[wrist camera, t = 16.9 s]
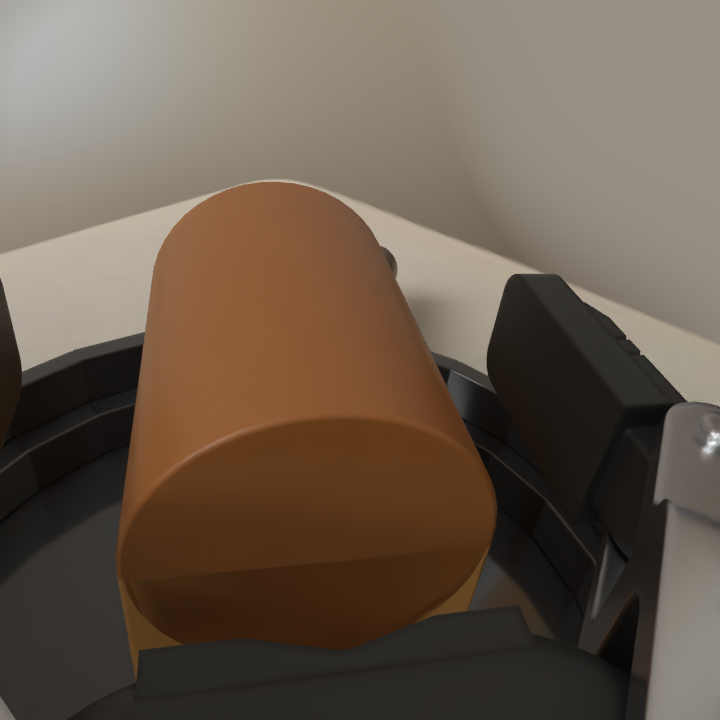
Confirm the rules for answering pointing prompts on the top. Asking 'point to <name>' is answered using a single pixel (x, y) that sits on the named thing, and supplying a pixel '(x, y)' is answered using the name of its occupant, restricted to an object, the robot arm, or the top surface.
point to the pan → (103, 510)
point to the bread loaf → (291, 439)
